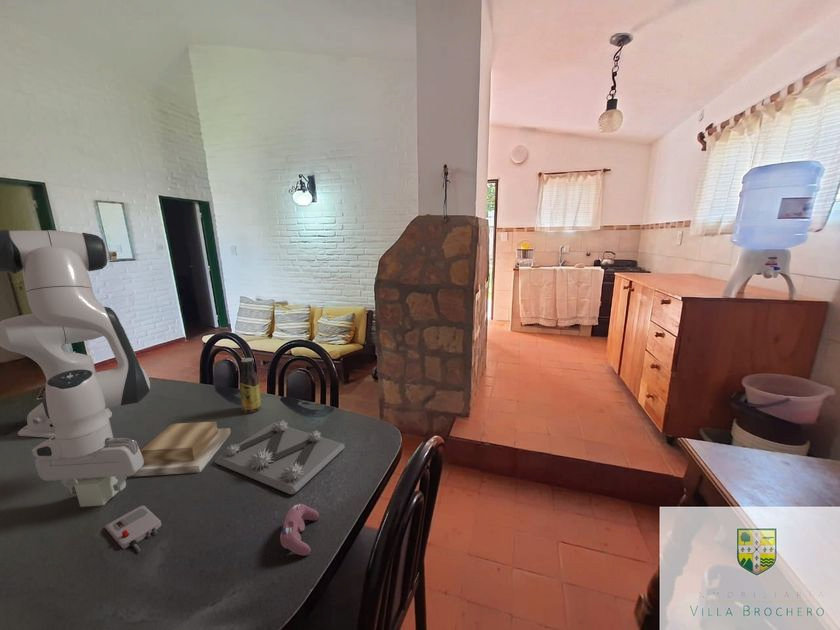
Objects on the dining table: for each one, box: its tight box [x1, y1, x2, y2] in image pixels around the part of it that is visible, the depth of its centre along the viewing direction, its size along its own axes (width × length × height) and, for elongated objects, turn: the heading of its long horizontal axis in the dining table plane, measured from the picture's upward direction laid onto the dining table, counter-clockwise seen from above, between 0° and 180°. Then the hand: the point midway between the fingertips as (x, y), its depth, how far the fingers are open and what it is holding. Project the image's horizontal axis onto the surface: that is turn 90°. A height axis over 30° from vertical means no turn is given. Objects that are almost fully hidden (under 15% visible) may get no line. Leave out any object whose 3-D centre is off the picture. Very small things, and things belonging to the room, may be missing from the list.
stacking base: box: [127, 421, 231, 478], centre depth 94 cm, size 18×18×6 cm
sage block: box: [74, 477, 119, 508], centre depth 78 cm, size 5×5×6 cm
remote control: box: [104, 505, 162, 552], centre depth 70 cm, size 7×16×3 cm, turn 60°
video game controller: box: [279, 503, 320, 557], centre depth 68 cm, size 10×5×7 cm, turn 5°
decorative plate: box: [214, 419, 346, 495], centre depth 94 cm, size 30×22×7 cm
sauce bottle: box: [239, 357, 262, 414], centre depth 117 cm, size 7×6×20 cm
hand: (99, 490), depth 78 cm, fingers open, 8 cm apart
